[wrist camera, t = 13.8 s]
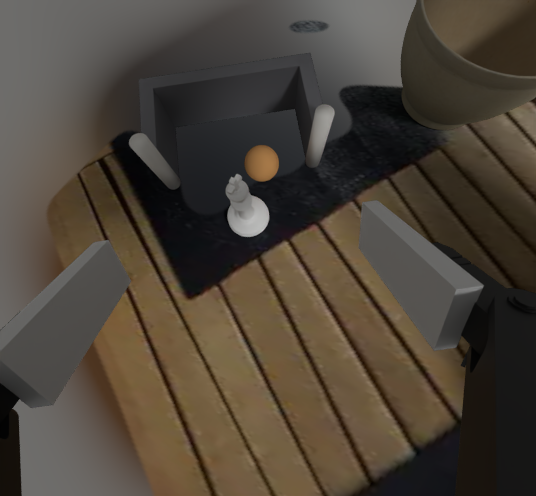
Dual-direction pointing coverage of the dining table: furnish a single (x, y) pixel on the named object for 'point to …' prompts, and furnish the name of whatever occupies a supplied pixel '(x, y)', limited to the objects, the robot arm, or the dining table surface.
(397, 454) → the dining table surface
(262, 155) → the ball
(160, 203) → the dining table surface
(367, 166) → the dining table surface
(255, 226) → the chess piece
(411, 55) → the planter bowl
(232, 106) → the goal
